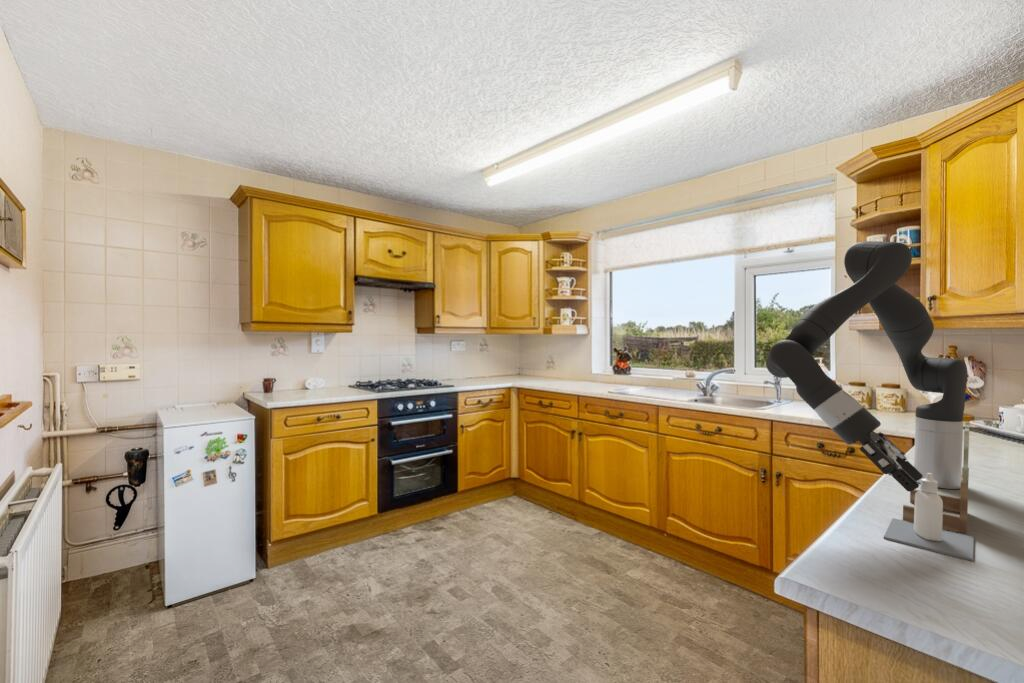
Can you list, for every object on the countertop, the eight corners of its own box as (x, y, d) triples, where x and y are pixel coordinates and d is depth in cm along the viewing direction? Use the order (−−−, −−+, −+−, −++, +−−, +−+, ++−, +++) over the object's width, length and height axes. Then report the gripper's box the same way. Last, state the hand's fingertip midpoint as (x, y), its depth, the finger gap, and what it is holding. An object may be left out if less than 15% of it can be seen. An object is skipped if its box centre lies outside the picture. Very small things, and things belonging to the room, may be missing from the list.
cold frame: (910, 501, 108) (912, 416, 108) (967, 513, 101) (970, 422, 101) (902, 520, 97) (905, 425, 96) (966, 534, 90) (969, 432, 90)
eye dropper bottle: (944, 535, 88) (947, 473, 88) (940, 544, 85) (943, 479, 84) (914, 528, 92) (917, 468, 91) (909, 535, 88) (911, 473, 88)
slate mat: (892, 519, 97) (892, 518, 97) (973, 538, 88) (973, 536, 88) (883, 538, 88) (883, 536, 88) (973, 561, 79) (973, 558, 79)
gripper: (855, 409, 90) (933, 481, 82) (867, 402, 100) (937, 466, 92) (823, 432, 94) (894, 503, 86) (837, 423, 104) (902, 486, 96)
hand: (916, 484), depth 89 cm, fingers open, 8 cm apart
